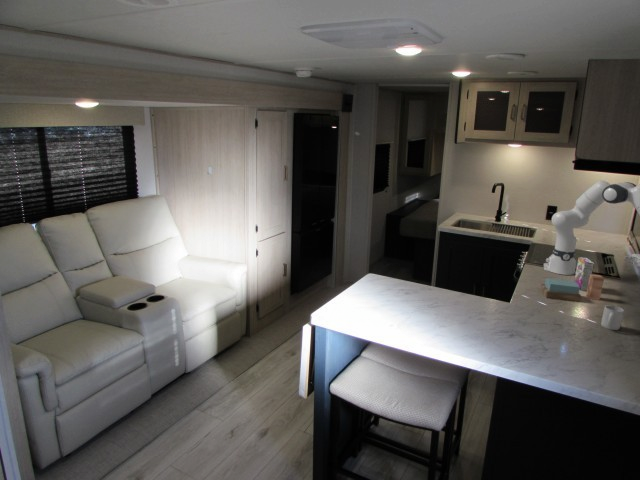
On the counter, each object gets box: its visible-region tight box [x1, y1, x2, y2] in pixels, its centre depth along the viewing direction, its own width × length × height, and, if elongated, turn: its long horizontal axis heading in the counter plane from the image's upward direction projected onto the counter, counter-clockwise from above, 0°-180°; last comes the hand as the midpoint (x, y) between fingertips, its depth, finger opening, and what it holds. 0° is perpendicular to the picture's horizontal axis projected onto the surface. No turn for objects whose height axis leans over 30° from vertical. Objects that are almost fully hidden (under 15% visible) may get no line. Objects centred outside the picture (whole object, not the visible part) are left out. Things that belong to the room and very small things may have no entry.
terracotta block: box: [585, 274, 605, 301], centre depth 241 cm, size 5×5×12 cm
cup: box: [600, 304, 625, 331], centre depth 204 cm, size 7×10×9 cm
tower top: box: [544, 277, 581, 295], centre depth 242 cm, size 10×14×4 cm
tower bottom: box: [540, 283, 582, 303], centre depth 243 cm, size 13×16×4 cm
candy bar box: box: [573, 256, 595, 292], centre depth 256 cm, size 11×5×16 cm, turn 168°
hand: (628, 260), depth 235 cm, fingers open, 8 cm apart
